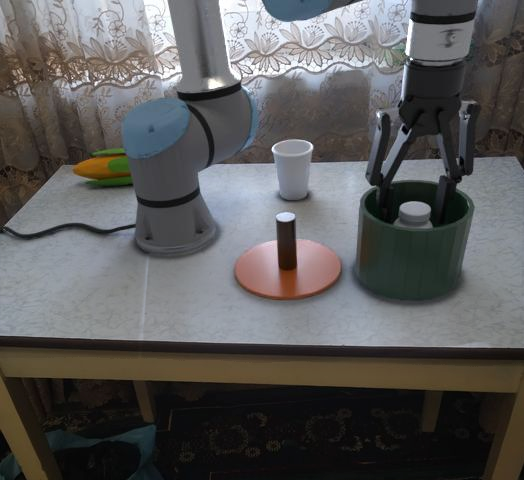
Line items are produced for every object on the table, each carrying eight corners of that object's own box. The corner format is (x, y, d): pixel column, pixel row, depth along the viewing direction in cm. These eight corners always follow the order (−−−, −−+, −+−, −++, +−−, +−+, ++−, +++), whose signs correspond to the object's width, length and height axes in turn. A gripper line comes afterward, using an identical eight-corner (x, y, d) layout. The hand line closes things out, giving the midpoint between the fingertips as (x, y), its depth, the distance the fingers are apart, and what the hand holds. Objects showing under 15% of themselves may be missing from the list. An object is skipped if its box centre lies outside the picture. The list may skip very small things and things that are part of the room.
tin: (370, 309, 80) (377, 237, 72) (344, 253, 93) (347, 186, 84) (476, 296, 81) (494, 223, 73) (436, 242, 93) (448, 174, 85)
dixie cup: (279, 205, 108) (277, 157, 101) (270, 188, 114) (267, 142, 108) (318, 199, 109) (318, 151, 102) (307, 183, 115) (307, 136, 108)
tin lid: (240, 309, 82) (234, 253, 76) (231, 250, 96) (225, 198, 89) (352, 295, 83) (356, 238, 77) (328, 239, 97) (329, 186, 90)
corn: (153, 151, 114) (61, 158, 114) (159, 185, 119) (71, 192, 119) (157, 141, 120) (70, 148, 120) (163, 174, 125) (79, 180, 125)
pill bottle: (426, 282, 84) (437, 218, 76) (387, 280, 85) (394, 216, 77) (425, 262, 88) (435, 199, 81) (388, 260, 89) (395, 198, 82)
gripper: (363, 73, 62) (351, 242, 77) (530, 57, 63) (487, 226, 79) (347, 58, 68) (339, 218, 83) (501, 43, 69) (466, 204, 84)
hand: (411, 222), depth 81 cm, fingers open, 8 cm apart
